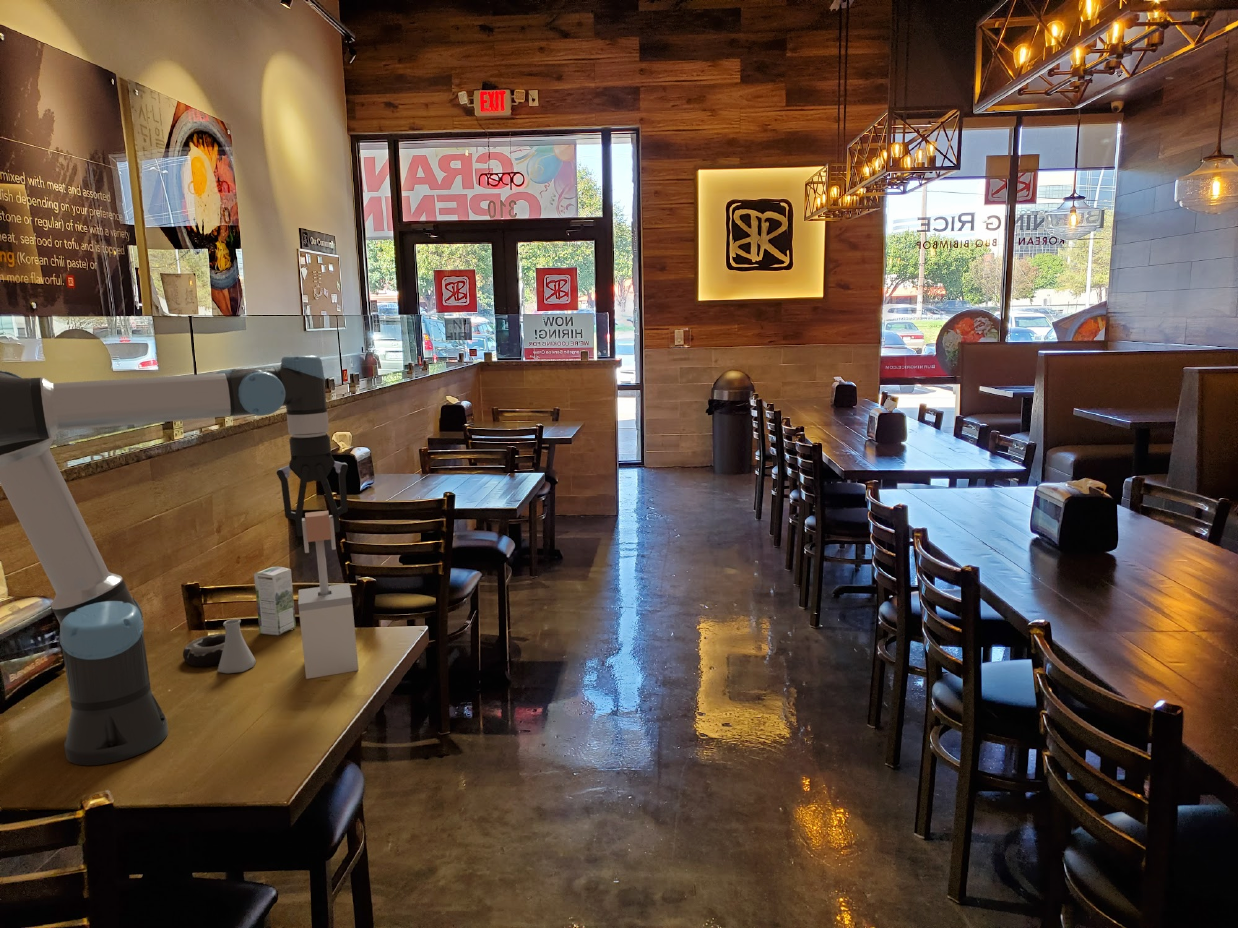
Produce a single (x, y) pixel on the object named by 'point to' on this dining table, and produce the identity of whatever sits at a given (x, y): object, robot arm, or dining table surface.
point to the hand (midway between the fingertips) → (320, 549)
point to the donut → (205, 650)
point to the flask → (235, 650)
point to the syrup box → (275, 600)
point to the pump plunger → (319, 542)
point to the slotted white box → (328, 631)
